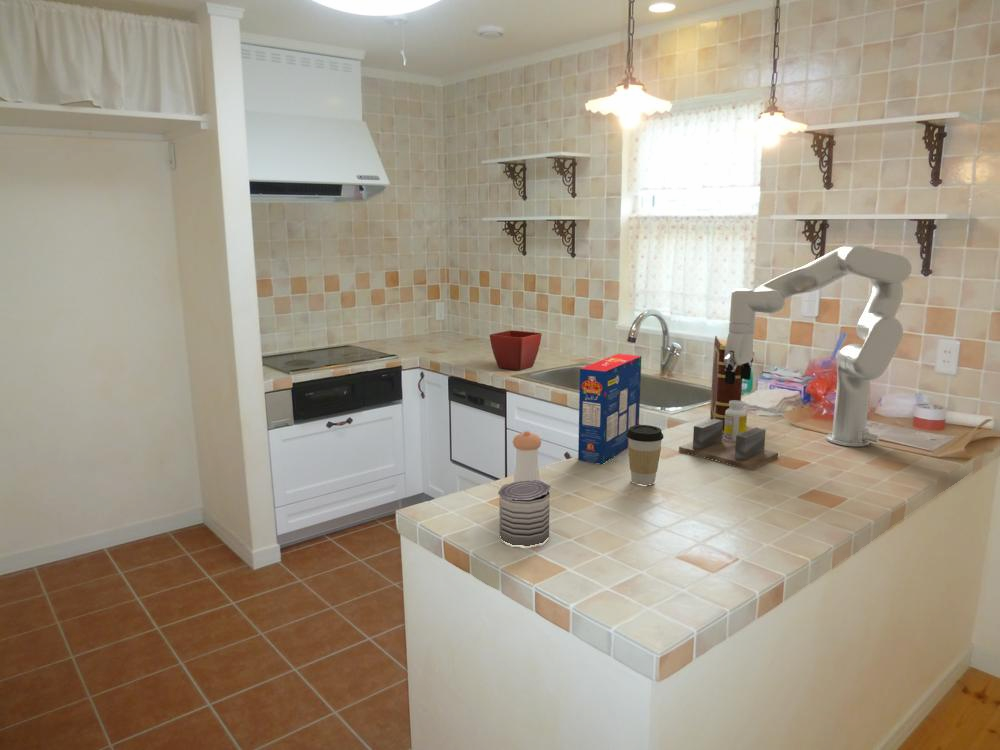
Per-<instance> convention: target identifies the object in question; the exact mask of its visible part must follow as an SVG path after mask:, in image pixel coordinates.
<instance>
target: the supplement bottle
mask: <svg viewBox="0 0 1000 750" xmlns="http://www.w3.org/2000/svg"><path fill="white" fill-rule="evenodd" d="M729 406H730V407H729V408H728V409H727V410H726V411H725V427H724V434H723V440H725V441H729V442H733V443H736V436H737V435H739V434H742V433H744V432H747V417H748V413H747V411H746V410H745V408H744V407H745V402H744V401H743V400H741V401H738V400H732V401H729Z"/></svg>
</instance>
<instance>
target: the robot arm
mask: <svg viewBox="0 0 1000 750" xmlns="http://www.w3.org/2000/svg"><path fill="white" fill-rule="evenodd" d="M912 267H913V266H912V264H911V262H910V259H908V258H907V257H905V256H904V255H901V254H897V253H892V252H887V251H883V250H880V249H879V250H878V249H875V248H871V247H868V246H863V245H852V244H846V245H842V246H840V247H837V248H836V249H834V250H832V251H830V252H828V253H825V254H824V255H822V256H821V257H819V258H817V259H814V260H813V261H811V262H809V263H807V264H805V265H803V266H801V267H798V268H796V269H793V270H792V271H788V272H786V273H784V274H781V275H779V276H777V277H775V278H772V279H770V280H769V281H767V282H765V283H762V284H761V285H760V286H758V287H757V288H755V289H752V288H735V289H733V290H732V292H731V297H730V309H729V313H730V314H729V323H728V324H729V325H728V326H729V327H728V333H727V338H726V340H727V342H726V349H725V357H724V364H725V365H724V367H725V371H726V373H725V383H728V384H735V376H736V372H734V371H735V369H736V367H737V365H742V366H741V375H740V378H741V379H742V380H747V381H750V380H751V376H752V375H751V374H752V367H753V362H754V357H755V352H754V333H755V326H756V325H755V324H756V313H761V314H771V315H772V314H777V313H778V312H781V310H783V308H784V307H785V304H786V299H787V298H790V297H793V296H795V295H799V294H800V295H801V294H805V293H812V292H815V291H818V290H821V289H823V288H824V287H827V286H828V285H830V284H832V283H834V282H835V281H836V282H837V280H840V279H842V278H844V277H846V276H847V275H854V276H855V275H856V276H860V277H863V278H867V279H869V280H870V282H871V283H870V284H871V287H872V291H871V295H870V298H869V299H868V302H867V304H866V306H865V308H864V310H863V312H862V314H861V316H860V318H859V320H858V322H857V325H856V327H855V332H856V335H857V337H858V338H860V339H861V341H864V342H863V344H861V343H849V344H847V345H845V346H843V347H842V348H841V349H840V350H839V352H838V354H837V357H836V374H837V376H836V377H837V379H836V381H837V382H836V392H835V402H834V411H833V423H832V430H831V431H832V432H830V433H828V434H826V436H825V437H826V440H827V441H829V442H830V443H832V444H835V445H839V446H843V447H856V448H857V447H867V446H869V445H870V444H871V442H873V443H879V441H880V437H879V436H878V435H877V434H875V433H874V434H873V433H870V428H867V422H868V421H867V420H868V410H869V402H870V393H871V381H874V380H877V379H879V378H880V377H881V376H882V375H883V374H884V373H885V372H886V370H887V369H888V367H889V365H890V363H891V361H892V360H893V358H894V355H895V354H896V352H897V350H898V348H899V346H900V344H901V341H902V339H903V333H904V329H903V324H902V323H901V322H900V320H899V319H898V318H896V315H897V313H898V310H899V308H900V306H901V304H902V300H903V296H904V287H903V284H902V283H903V282H904V281H906V280H907V279H908V278H909V277H910V276H911V274H912V270H913V269H912ZM731 365H733V367H732V366H731Z"/></svg>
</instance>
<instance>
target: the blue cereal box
mask: <svg viewBox="0 0 1000 750" xmlns="http://www.w3.org/2000/svg"><path fill="white" fill-rule="evenodd" d="M641 378H642V355H633V354H632V355H631V354H623V353H616V354H614V355H612V356H609V357H607V358H604V359H601V360H598V361H596V362H594V363H591V364H589V365H586V366H583V367H580V368H579V397H578V398H579V400H578V403H579V404H578V448H577V449H578V453H577V454H578V455H577V457H578V458H577V459H578V461H580V462H587V463H592V464H596V463H600V464H599V465H601V464H603V463H605V462H606V461H608V460H609V459H611V458H612V459H613V458H615V457H616V456H618V455H619V454H621V453H622V452H623V451H625V450H626V449H628V445H629V443H628V437H627V436H626V434H627V432H628V431H629V428H630V427H632V426H636V425H640V409H641V408H640V405H641V403H640V402H641ZM614 456H615V457H614ZM612 459H611V460H612ZM609 461H610V460H609ZM609 461H608V462H609ZM606 463H607V462H606ZM606 463H605V464H606ZM603 465H604V464H603Z"/></svg>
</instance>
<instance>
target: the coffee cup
mask: <svg viewBox="0 0 1000 750" xmlns="http://www.w3.org/2000/svg"><path fill="white" fill-rule="evenodd" d="M626 436H627V437H628V443H629V445H628V448H627V449H628V450H627V451H628V458H629V459H628V462H629V470H630V480H632V481H631V483H632V482H634V483H636V484H642V485H649V484H653V483H654V482H655V483H656V478H657V477H656V476H657V472H658V468H659V461H660V455H661V449H662V440H663V439H664V434H663V432H662V429H661V428H660V427H658V426H654V425H650V424H649V425H647V424H639V425H636V426H632V427H630V428H629V431H628V432H627V434H626ZM655 483H654V484H655Z"/></svg>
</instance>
